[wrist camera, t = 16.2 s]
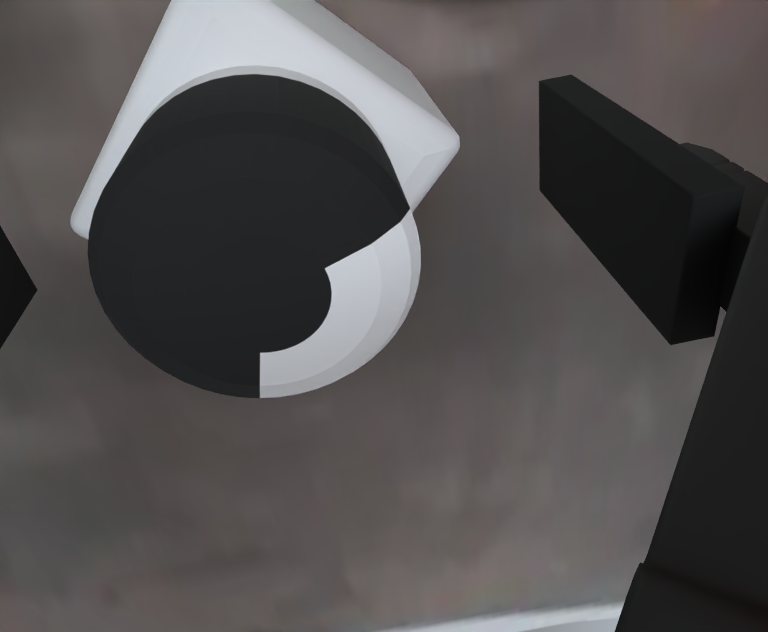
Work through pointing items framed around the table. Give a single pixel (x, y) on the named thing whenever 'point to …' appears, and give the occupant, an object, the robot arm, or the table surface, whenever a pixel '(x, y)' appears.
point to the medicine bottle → (262, 197)
